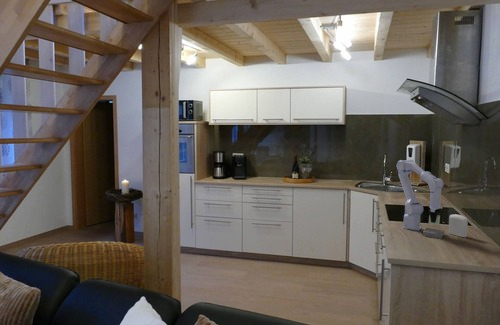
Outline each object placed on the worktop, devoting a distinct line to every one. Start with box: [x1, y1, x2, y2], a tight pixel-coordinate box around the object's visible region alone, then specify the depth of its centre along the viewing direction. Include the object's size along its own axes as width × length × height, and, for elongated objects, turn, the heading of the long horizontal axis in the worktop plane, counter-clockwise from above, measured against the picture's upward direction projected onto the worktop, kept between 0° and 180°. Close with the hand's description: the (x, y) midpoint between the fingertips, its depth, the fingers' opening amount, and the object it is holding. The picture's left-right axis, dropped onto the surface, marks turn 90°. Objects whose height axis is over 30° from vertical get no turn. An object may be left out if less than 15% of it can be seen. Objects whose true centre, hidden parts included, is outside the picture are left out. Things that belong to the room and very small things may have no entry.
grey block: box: [422, 227, 445, 239], centre depth 227 cm, size 10×10×3 cm
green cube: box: [428, 214, 441, 226], centre depth 226 cm, size 5×5×5 cm
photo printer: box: [448, 213, 469, 238], centre depth 226 cm, size 10×4×12 cm, turn 29°
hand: (434, 221), depth 226 cm, fingers closed on green cube, 5 cm apart
